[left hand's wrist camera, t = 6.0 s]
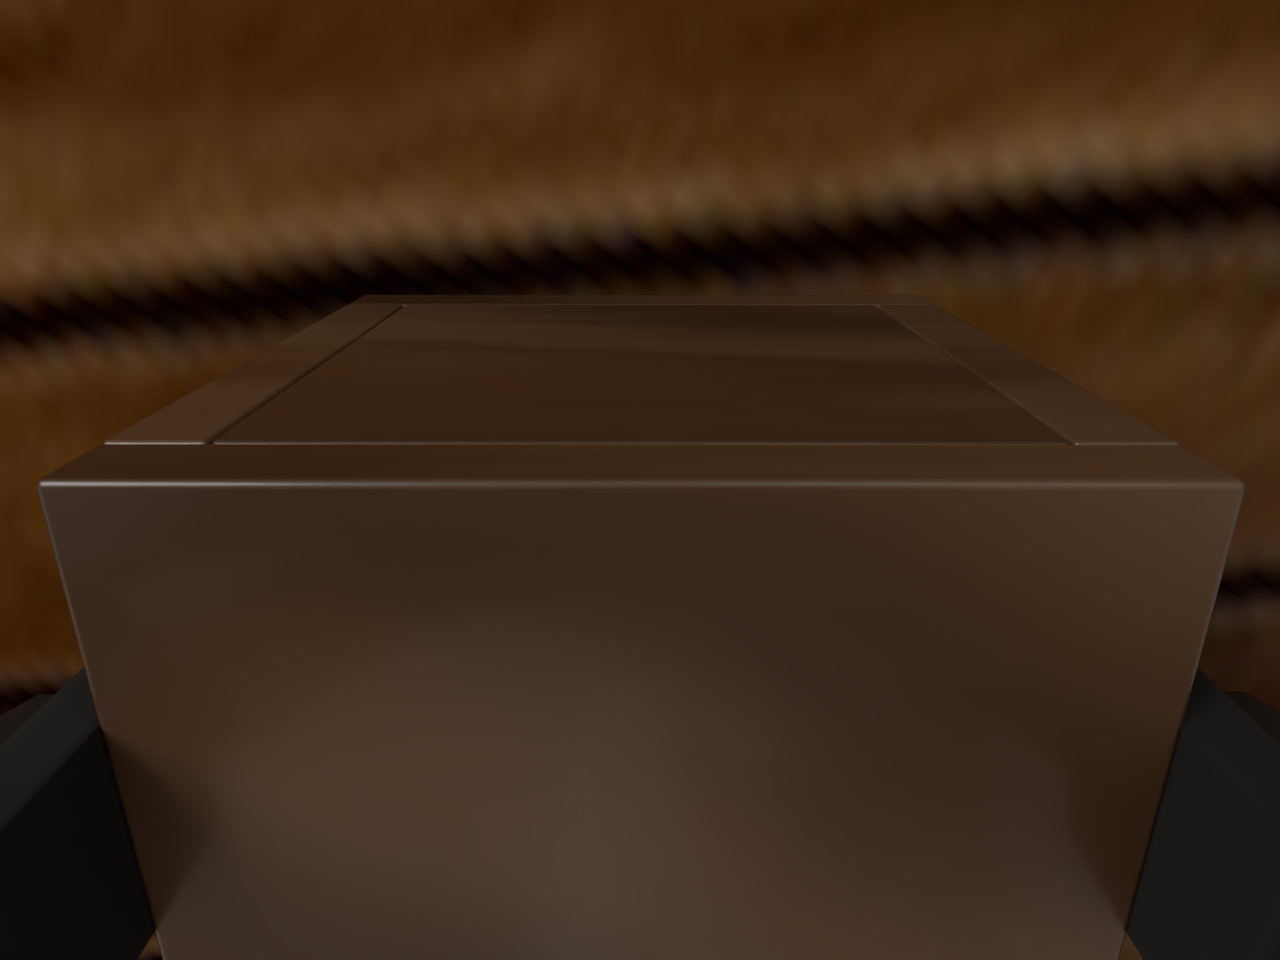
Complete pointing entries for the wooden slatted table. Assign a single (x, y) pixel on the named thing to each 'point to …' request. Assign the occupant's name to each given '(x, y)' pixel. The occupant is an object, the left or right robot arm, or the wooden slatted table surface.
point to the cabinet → (640, 636)
